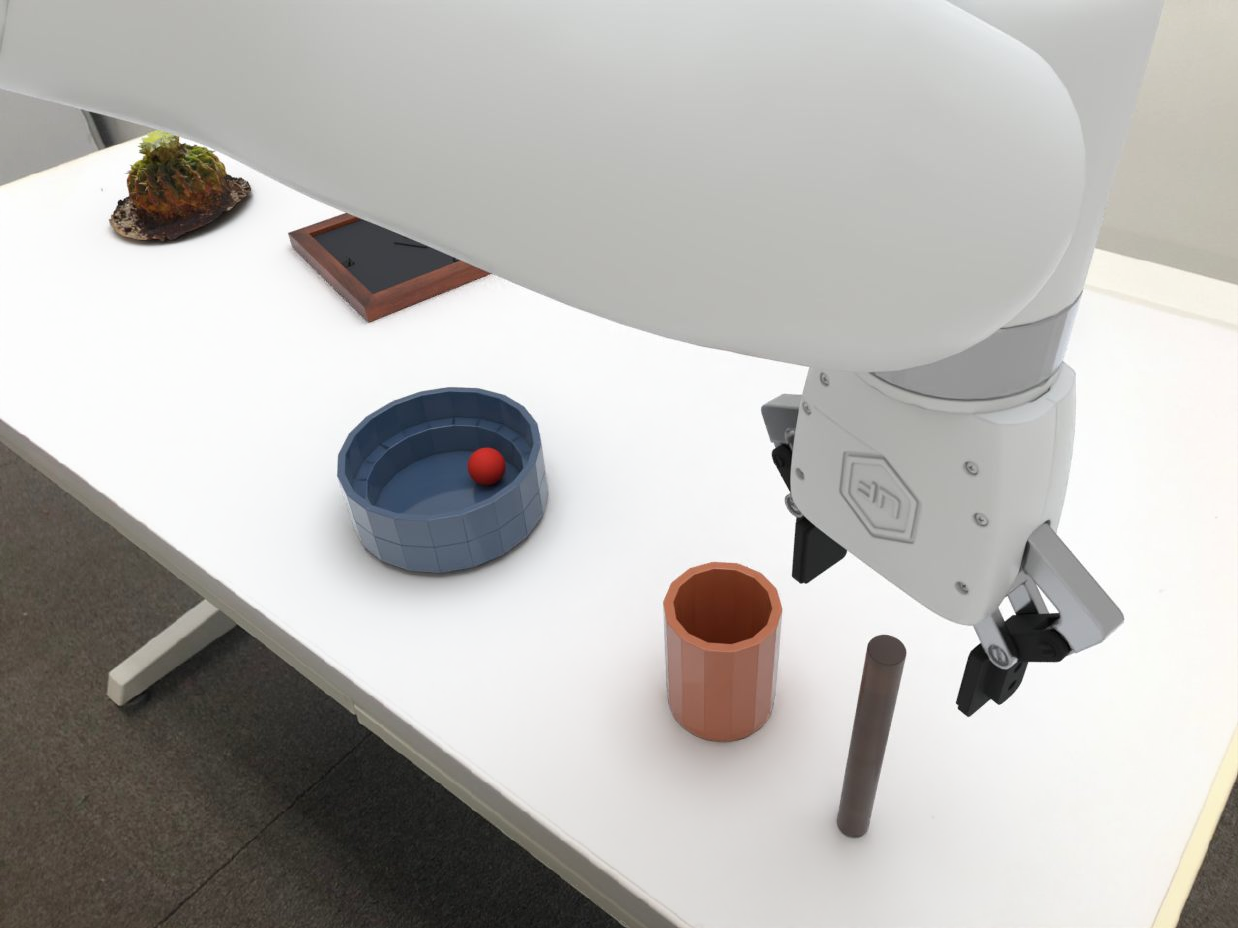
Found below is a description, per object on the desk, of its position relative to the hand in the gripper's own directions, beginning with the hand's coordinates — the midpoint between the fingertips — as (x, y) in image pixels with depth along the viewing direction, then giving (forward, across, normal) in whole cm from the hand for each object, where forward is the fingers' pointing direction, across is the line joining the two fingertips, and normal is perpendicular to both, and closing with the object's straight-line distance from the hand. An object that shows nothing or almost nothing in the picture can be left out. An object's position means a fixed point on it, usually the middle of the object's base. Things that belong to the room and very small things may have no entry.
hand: (896, 627), depth 46 cm
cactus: (+17, -105, -3) cm, 106 cm away
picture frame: (+18, -76, +15) cm, 80 cm away
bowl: (+17, -38, -5) cm, 42 cm away
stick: (+17, 0, 0) cm, 17 cm away
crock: (+17, -11, 0) cm, 21 cm away
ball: (+15, -38, -1) cm, 41 cm away
